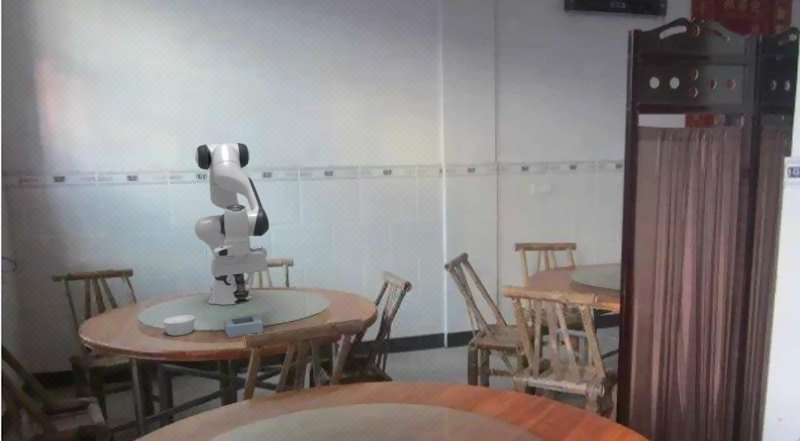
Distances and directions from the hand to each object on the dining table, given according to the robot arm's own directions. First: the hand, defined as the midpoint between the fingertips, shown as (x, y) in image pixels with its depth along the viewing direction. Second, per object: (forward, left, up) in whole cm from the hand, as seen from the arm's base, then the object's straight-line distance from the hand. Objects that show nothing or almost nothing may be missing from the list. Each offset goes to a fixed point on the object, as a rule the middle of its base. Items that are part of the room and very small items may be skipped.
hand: (240, 285), depth 233 cm
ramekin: (-10, -22, -18) cm, 30 cm away
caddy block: (0, 0, -18) cm, 18 cm away
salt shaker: (0, 0, -6) cm, 6 cm away
